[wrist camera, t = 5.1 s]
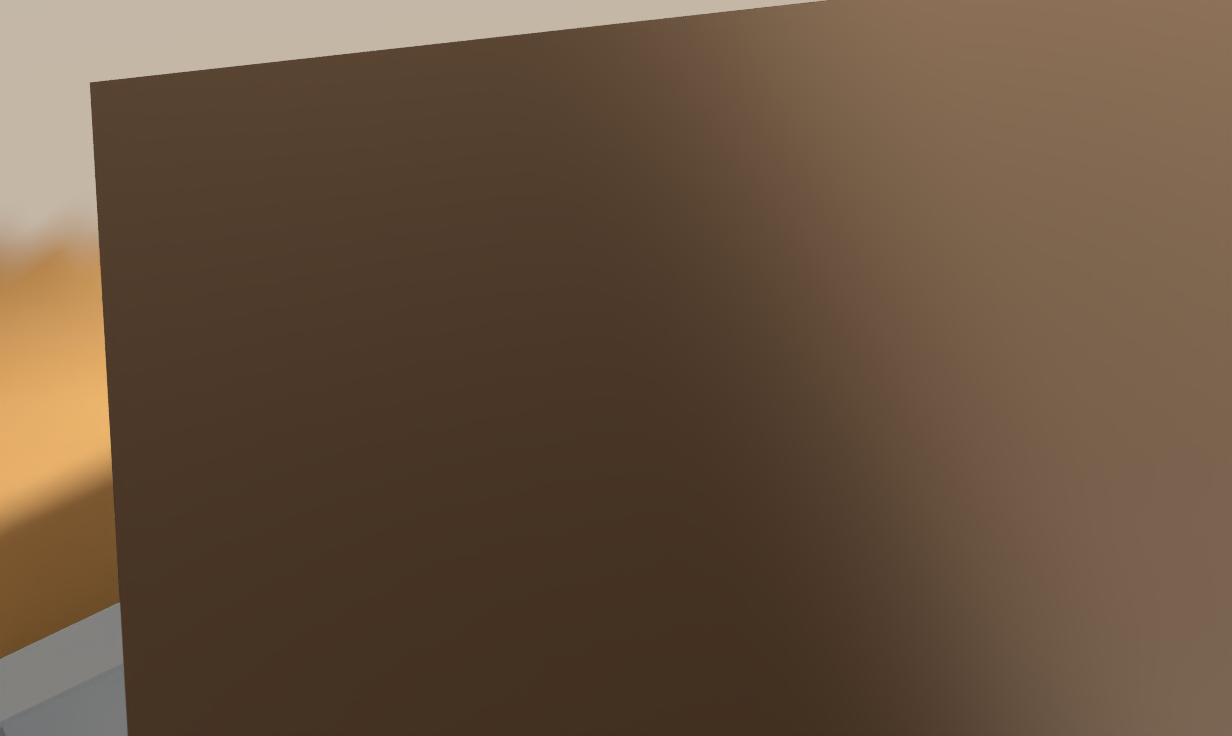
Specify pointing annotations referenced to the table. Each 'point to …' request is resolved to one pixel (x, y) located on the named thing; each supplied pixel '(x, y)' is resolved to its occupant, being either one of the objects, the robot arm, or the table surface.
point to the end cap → (67, 682)
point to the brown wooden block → (682, 378)
